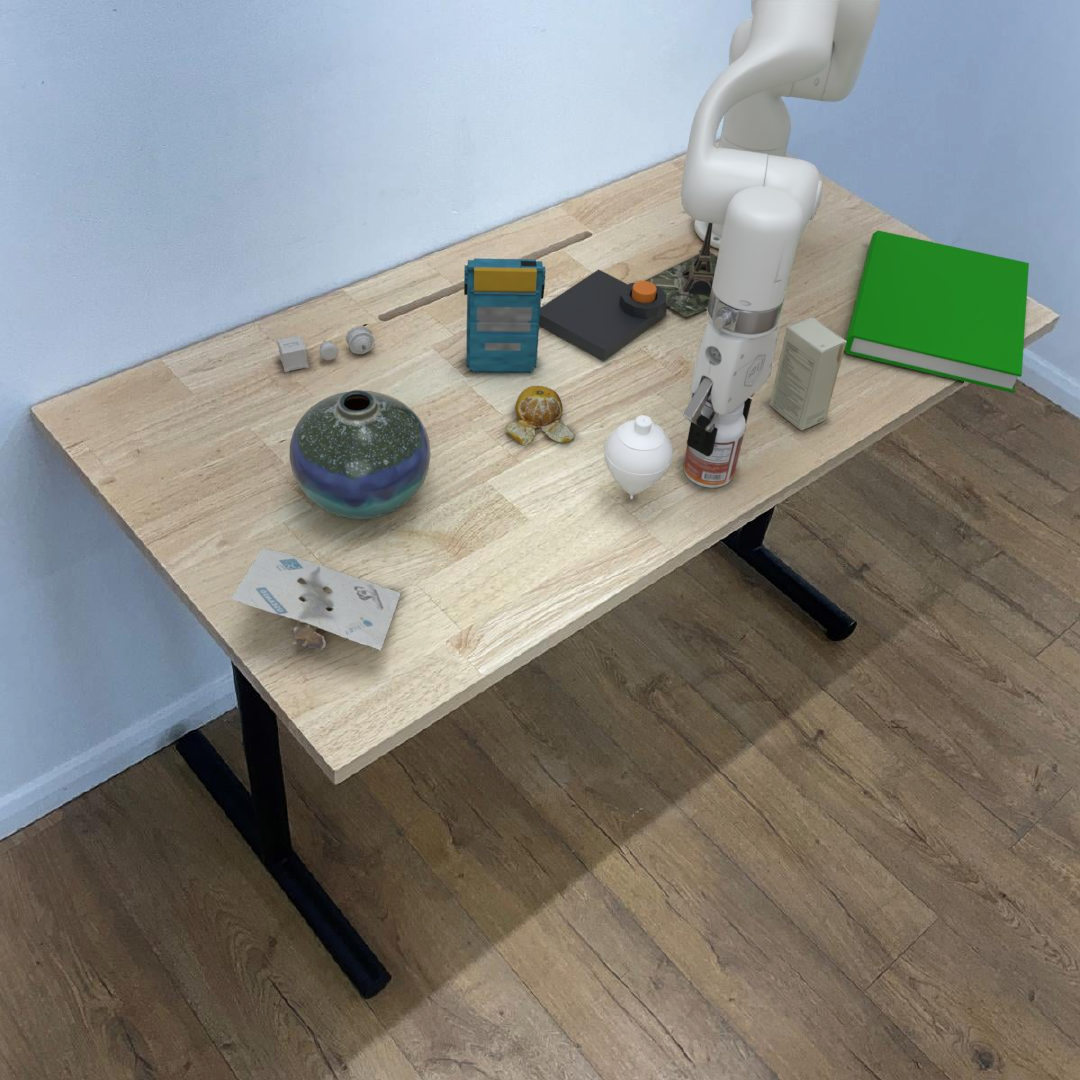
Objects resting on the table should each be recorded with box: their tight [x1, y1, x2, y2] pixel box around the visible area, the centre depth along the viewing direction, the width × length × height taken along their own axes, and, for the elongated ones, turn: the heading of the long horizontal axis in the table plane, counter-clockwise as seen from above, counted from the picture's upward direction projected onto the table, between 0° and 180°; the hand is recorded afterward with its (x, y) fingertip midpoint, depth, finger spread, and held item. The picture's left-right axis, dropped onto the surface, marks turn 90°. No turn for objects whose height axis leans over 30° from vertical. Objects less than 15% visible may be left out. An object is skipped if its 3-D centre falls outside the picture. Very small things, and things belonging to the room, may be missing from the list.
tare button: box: [632, 280, 657, 303], centre depth 157 cm, size 3×3×2 cm
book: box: [844, 230, 1030, 394], centre depth 163 cm, size 22×28×3 cm
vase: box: [289, 389, 432, 520], centre depth 128 cm, size 15×15×13 cm
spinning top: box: [603, 414, 674, 500], centre depth 131 cm, size 8×8×12 cm
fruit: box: [505, 385, 576, 446], centre depth 142 cm, size 8×8×4 cm
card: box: [230, 546, 402, 652], centre depth 119 cm, size 11×15×5 cm
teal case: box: [463, 257, 547, 374], centre depth 145 cm, size 10×4×15 cm, turn 93°
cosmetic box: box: [769, 316, 846, 431], centre depth 143 cm, size 6×4×12 cm
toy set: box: [276, 325, 375, 374], centre depth 149 cm, size 12×3×4 cm
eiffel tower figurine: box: [644, 223, 718, 318], centre depth 161 cm, size 15×10×13 cm
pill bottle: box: [682, 396, 747, 489], centre depth 135 cm, size 6×6×11 cm
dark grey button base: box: [539, 269, 669, 362], centre depth 158 cm, size 15×12×4 cm
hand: (716, 434), depth 135 cm, fingers closed on pill bottle, 6 cm apart
